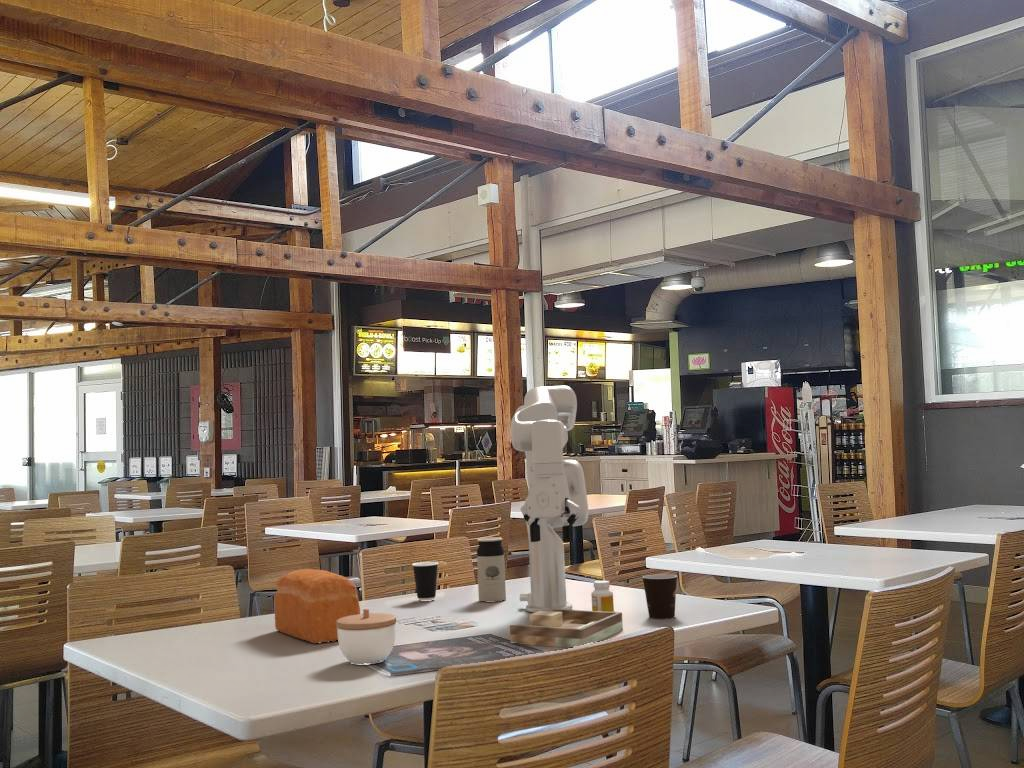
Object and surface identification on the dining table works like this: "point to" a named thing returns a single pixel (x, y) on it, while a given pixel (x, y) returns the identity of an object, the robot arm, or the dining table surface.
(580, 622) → the box
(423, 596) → the dixie cup
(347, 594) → the bread
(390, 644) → the lidded bowl
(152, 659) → the dining table surface
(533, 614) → the maple block
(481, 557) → the travel mug
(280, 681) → the dining table surface
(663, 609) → the coffee mug
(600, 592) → the supplement bottle
